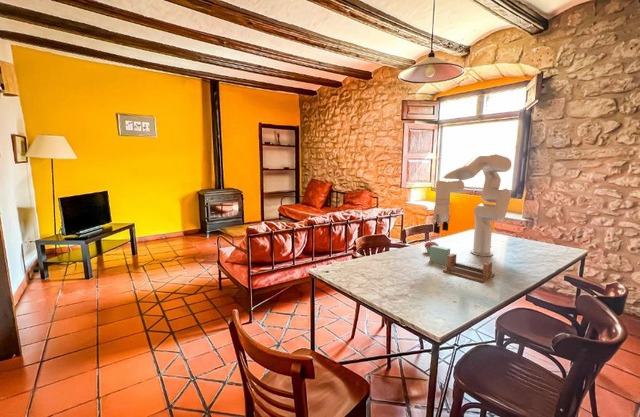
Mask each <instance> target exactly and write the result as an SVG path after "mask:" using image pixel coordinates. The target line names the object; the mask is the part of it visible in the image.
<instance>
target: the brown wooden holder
mask: <svg viewBox="0 0 640 417" xmlns="http://www.w3.org/2000/svg"><path fill="white" fill-rule="evenodd" d="M442 272H443V273H446V274H449V275H453V276H456V277H461V278H464V279H466V280H467V279H468V280H471V281H475V282H478V283H481V284H482V283H485V282H487V281H488V280H490V279H492V278H493V277H495V273H493V262H492V261H489V260H488V261H486V262H484V263H482V268H480V267H475V266H471V265H468V264H467V265H466V264H463V263H460V262H457V253H450V255H448V256H447V265H446V268H444V269H442Z"/></svg>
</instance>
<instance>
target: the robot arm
mask: <svg viewBox="0 0 640 417" xmlns="http://www.w3.org/2000/svg"><path fill="white" fill-rule="evenodd" d="M511 168H512V161H511V159H510V158H509V157H507V156H503V155H501V154H497V153H479V154H476V155H474V156H473V157H471V159H469V161H468V162H466V163H465V164H464V165H462V166H461V167H458V168H456V169H454V170H452V171H450V172H448V173H446V174H445V175H444V176H443V177H441V179H438V180H437V181H436V183H435V200H434V201H435V202H434V209H433V215H432V217H433V218H432V224H433V233H434V234H440V233H441V230H440V229H441V228H442V231H446V232H448V231H449V223H450V217H451V215H450V202H451V193H453V194H454V193H456V194H458V193H461V192H462V191H464V188H465V183H464V181H465V180H466V181H467V180H471V179H472V178H474V177H475V176H477V175H478V174H479V173H480V171H482V172H483V175H484V178H485V179H484V184H483V187H482V190H481V194H480V199H481V200H482V201H483V202H485V203H479V204H477V205H476V206H475V207H474V209H473V214H474V215H473V216H474V232H473V233H474V236H473V248H472V249H470V254H472V255H475V256H481V257H491V256H493V255H494V252H493V251H491V249H492V245H491V244H492V236H493V234H492V232H493V226H492V222H502V221H504V219H505V218H506V215H507V213H508V208H509V206H510V205H509V204H510V201H511V192H510V190H509V189H507V188H506V187H501V186H500V185H501V182H502V180H501V177H500V174H499V173H505V172H508V171H509V170H510V169H511ZM490 203H491V204H490ZM491 221H492V222H491ZM441 224H442V227H441V228H440V225H441Z"/></svg>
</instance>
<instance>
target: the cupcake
mask: <svg viewBox="0 0 640 417" xmlns="http://www.w3.org/2000/svg"><path fill="white" fill-rule="evenodd" d="M433 245H436V246H439V244H438V243H437V242H434V241H432V236H431V235H429V241H428V242H426V243H424V248H425V249H426V252H427V253H428V254H429V255H430V246H433Z"/></svg>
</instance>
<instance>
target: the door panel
mask: <svg viewBox="0 0 640 417" xmlns="http://www.w3.org/2000/svg"><path fill="white" fill-rule="evenodd" d="M450 254H451V248H450V247H446V246H445V247H444V246H441V245H438V246H436V245H433V246H430V254H429V262H431V263H435V264H438V265H439V264H440V265H443V266H447V256H448V255H450Z"/></svg>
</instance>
